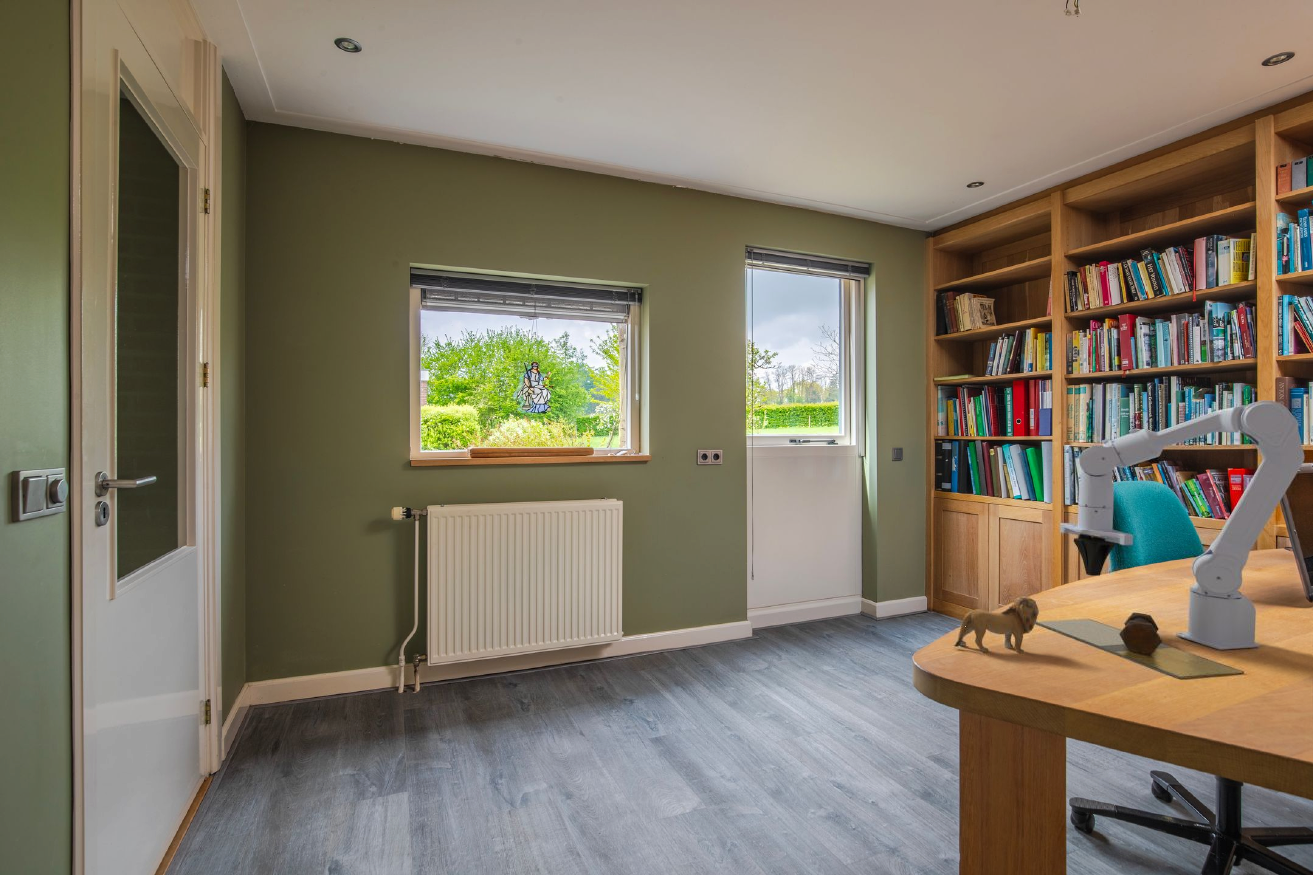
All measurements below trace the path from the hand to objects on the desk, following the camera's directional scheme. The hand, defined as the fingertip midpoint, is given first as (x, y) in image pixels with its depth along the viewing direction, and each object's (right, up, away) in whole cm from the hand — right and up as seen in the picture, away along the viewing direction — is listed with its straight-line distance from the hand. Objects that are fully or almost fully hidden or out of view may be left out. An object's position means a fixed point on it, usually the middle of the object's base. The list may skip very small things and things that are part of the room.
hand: (1093, 574), depth 129 cm
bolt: (0, -10, -13) cm, 16 cm away
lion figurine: (-28, -9, -17) cm, 34 cm away
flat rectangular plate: (-3, -10, -14) cm, 17 cm away
